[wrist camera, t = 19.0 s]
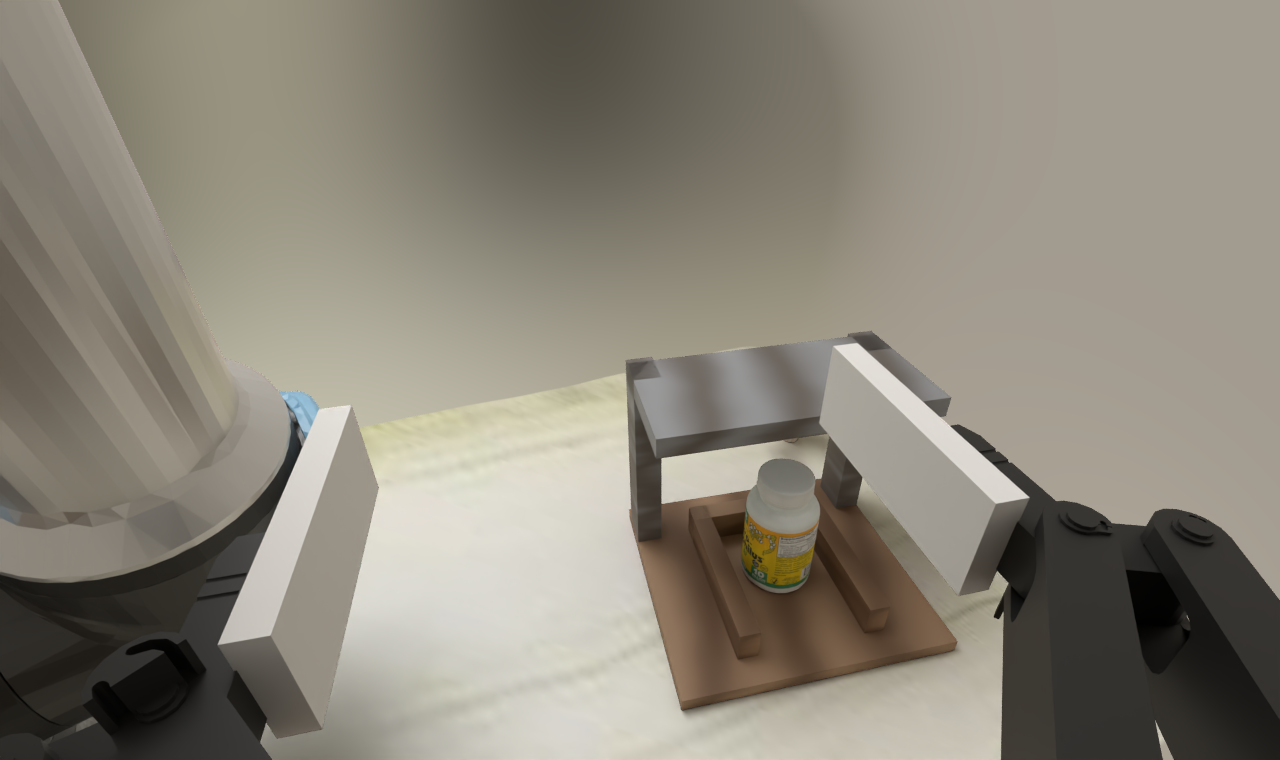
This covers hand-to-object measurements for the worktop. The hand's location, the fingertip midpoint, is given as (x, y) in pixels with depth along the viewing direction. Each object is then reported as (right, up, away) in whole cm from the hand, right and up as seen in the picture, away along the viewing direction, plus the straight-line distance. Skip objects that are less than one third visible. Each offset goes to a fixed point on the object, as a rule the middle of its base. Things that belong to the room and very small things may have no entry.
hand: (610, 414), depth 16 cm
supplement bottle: (+11, -14, +31) cm, 36 cm away
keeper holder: (+11, -15, +32) cm, 37 cm away
